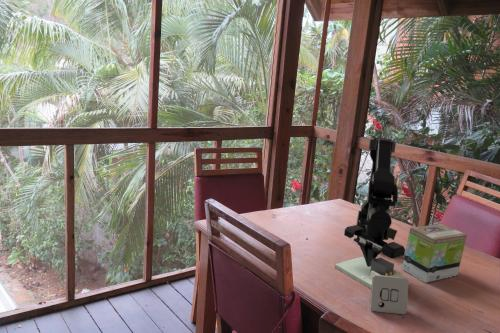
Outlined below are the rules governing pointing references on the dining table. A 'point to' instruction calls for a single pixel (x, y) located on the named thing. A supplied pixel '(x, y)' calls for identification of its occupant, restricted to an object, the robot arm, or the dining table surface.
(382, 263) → the plug
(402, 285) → the electrical switch
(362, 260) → the board
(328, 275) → the dining table surface
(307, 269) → the dining table surface
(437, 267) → the tea box
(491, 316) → the dining table surface
